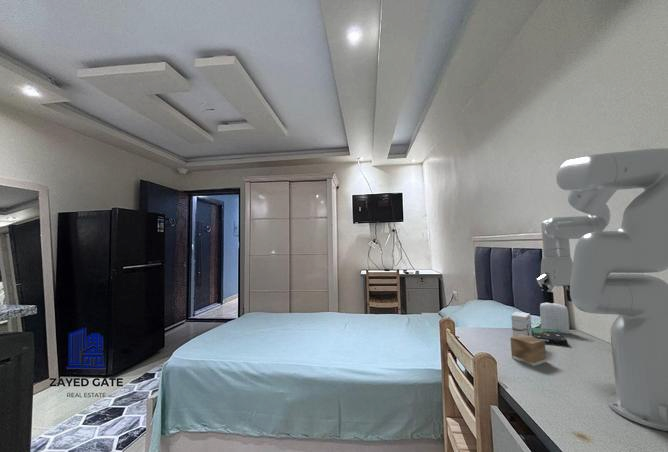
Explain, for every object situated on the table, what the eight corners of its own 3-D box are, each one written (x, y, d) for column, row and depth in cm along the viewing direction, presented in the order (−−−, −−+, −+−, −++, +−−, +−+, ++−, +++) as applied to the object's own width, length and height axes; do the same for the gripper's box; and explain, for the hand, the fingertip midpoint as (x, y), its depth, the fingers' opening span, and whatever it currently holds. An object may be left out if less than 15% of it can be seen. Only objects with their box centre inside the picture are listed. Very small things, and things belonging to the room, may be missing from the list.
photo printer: (571, 332, 119) (568, 304, 120) (568, 334, 117) (565, 305, 118) (543, 327, 128) (540, 300, 129) (539, 329, 125) (537, 302, 126)
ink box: (528, 349, 101) (525, 317, 102) (512, 345, 105) (510, 314, 106) (532, 343, 107) (530, 313, 108) (518, 340, 111) (516, 311, 112)
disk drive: (569, 348, 103) (558, 336, 116) (568, 340, 104) (558, 329, 117) (535, 344, 108) (529, 333, 121) (535, 336, 108) (529, 326, 122)
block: (532, 343, 88) (533, 366, 87) (544, 340, 91) (546, 362, 90) (510, 337, 94) (511, 358, 94) (522, 334, 97) (524, 354, 96)
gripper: (566, 253, 103) (570, 299, 101) (526, 254, 100) (530, 301, 98) (587, 253, 95) (592, 303, 94) (545, 254, 93) (550, 305, 91)
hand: (560, 302), depth 96 cm, fingers open, 9 cm apart
